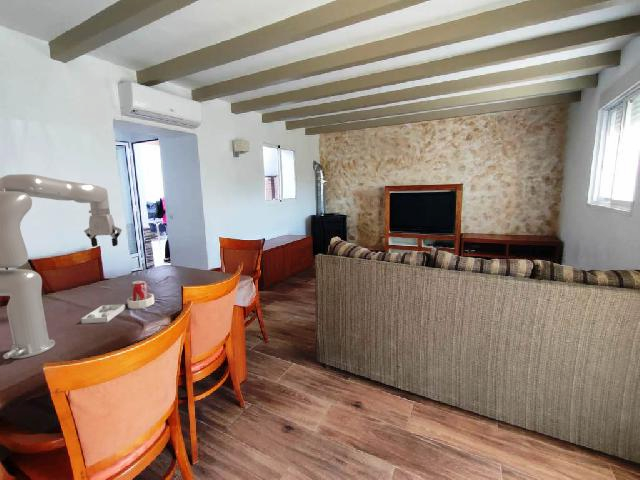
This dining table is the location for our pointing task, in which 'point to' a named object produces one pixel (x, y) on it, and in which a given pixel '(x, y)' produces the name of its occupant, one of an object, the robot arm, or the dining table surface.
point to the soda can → (139, 290)
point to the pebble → (106, 308)
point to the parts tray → (99, 311)
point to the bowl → (140, 302)
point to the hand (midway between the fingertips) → (105, 246)
